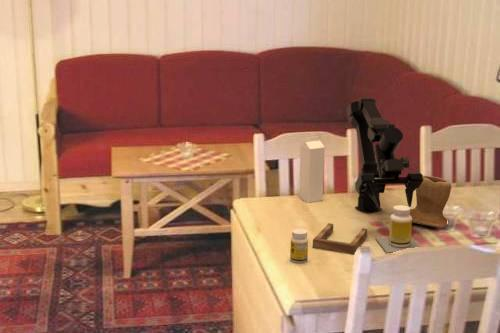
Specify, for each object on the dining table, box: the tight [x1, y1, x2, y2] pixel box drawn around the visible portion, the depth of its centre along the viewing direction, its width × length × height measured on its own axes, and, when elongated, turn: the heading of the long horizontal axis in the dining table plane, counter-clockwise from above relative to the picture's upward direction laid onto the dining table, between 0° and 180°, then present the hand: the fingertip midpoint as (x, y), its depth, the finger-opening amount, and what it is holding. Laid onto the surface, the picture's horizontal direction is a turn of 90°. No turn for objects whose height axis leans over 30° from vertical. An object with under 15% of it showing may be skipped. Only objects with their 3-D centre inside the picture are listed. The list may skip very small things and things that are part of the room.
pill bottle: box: [388, 204, 413, 247], centre depth 212 cm, size 6×6×11 cm
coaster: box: [375, 236, 422, 255], centre depth 214 cm, size 11×11×1 cm
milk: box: [298, 135, 326, 204], centre depth 253 cm, size 6×6×22 cm
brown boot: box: [409, 175, 452, 228], centre depth 232 cm, size 15×12×15 cm
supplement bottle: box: [289, 228, 309, 264], centre depth 202 cm, size 5×5×8 cm
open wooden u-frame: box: [312, 222, 368, 255], centre depth 216 cm, size 15×12×2 cm
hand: (394, 207), depth 217 cm, fingers open, 9 cm apart
